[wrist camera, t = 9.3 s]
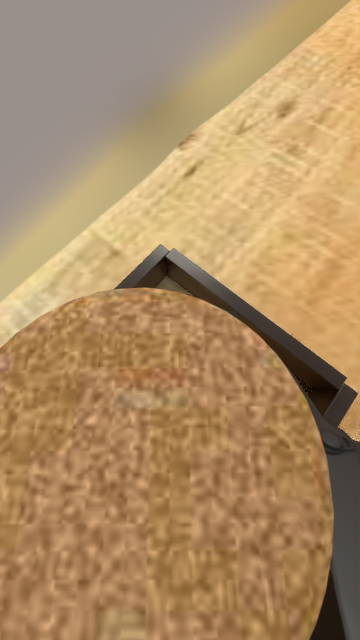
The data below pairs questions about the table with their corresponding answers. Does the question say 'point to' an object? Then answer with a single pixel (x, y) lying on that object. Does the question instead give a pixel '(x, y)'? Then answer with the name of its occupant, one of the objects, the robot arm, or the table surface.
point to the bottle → (157, 478)
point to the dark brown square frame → (302, 362)
